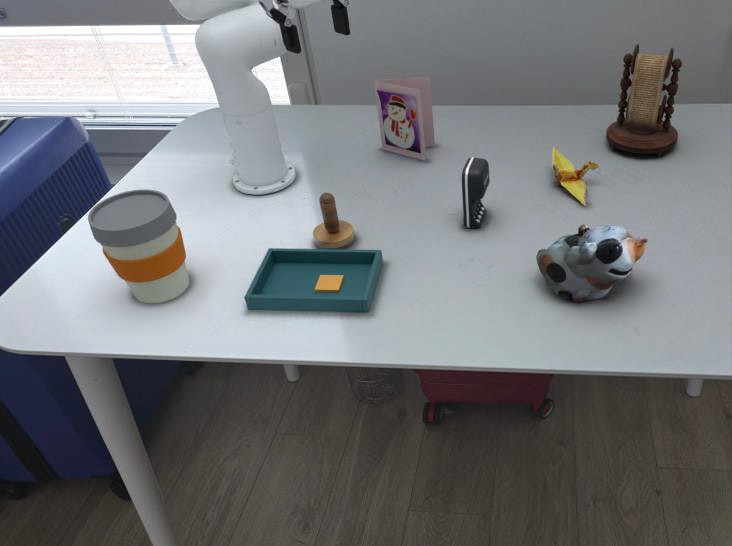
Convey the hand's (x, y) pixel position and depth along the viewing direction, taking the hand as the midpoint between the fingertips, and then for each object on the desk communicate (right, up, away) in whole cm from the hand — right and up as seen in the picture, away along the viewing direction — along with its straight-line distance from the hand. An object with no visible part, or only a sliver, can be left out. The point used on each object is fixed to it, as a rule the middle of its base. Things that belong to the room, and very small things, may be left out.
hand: (318, 42), depth 107 cm
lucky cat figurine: (+43, -37, +6) cm, 57 cm away
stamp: (0, -29, +17) cm, 33 cm away
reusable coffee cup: (-28, -37, +9) cm, 48 cm away
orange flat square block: (0, -37, +7) cm, 38 cm away
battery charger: (+25, -24, +21) cm, 40 cm away
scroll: (+60, -3, +40) cm, 72 cm away
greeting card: (+11, -4, +42) cm, 44 cm away
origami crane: (+43, -15, +29) cm, 54 cm away
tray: (-2, -38, +7) cm, 38 cm away
